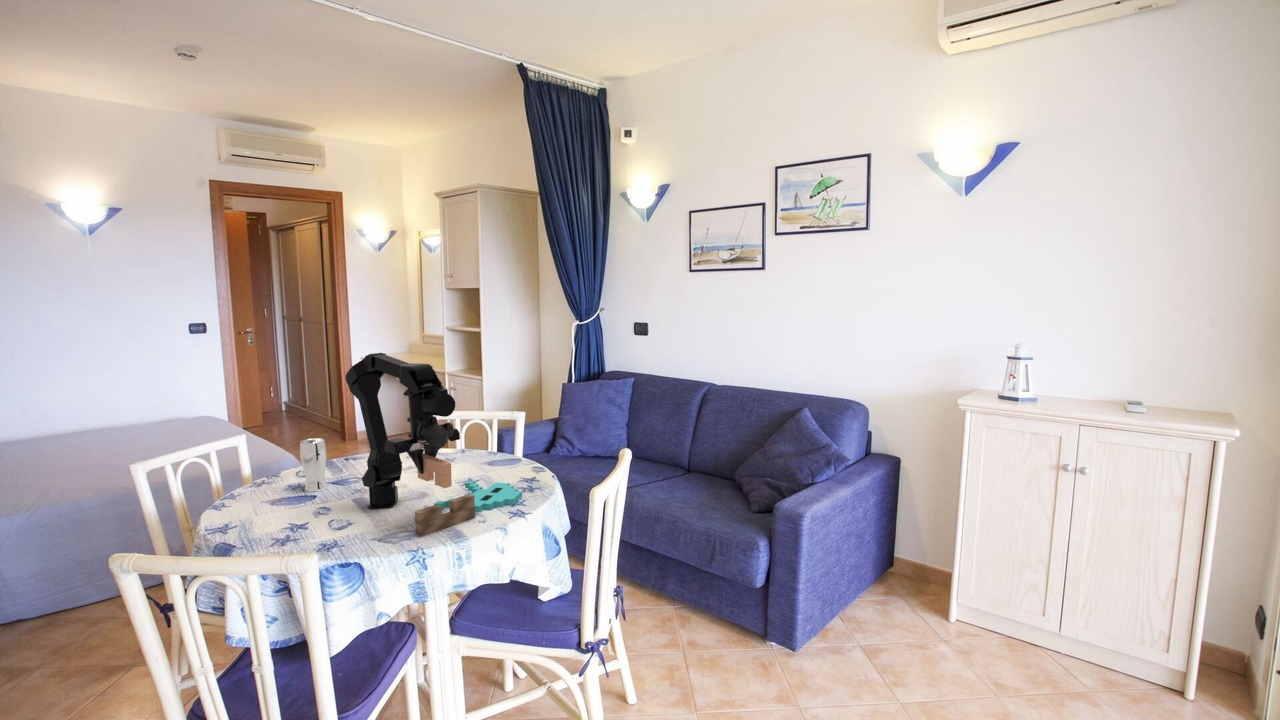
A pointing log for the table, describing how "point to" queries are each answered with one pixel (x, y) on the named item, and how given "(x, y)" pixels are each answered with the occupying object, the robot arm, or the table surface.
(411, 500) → the table surface
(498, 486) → the alien figure
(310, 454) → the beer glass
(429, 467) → the terracotta u-shaped block
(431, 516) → the notched wooden block
